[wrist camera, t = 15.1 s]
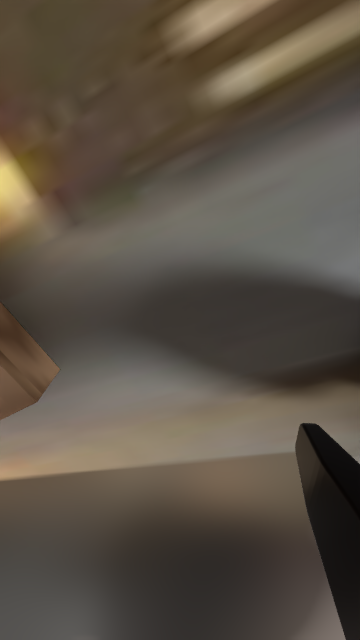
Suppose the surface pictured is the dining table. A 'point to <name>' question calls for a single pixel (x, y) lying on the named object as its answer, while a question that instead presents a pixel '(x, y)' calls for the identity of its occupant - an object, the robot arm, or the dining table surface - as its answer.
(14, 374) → the walnut pedestal
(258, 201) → the dining table surface
